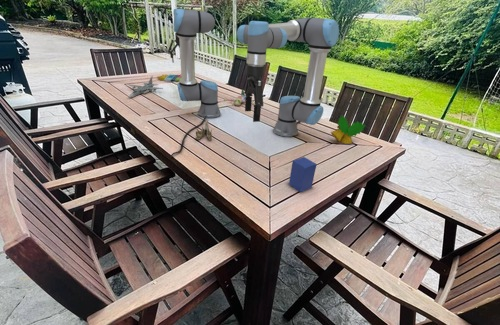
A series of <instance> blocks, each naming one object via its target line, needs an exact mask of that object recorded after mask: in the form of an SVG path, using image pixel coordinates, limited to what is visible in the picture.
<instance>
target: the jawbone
mask: <svg viewBox="0 0 500 325" xmlns="http://www.w3.org/2000/svg"><path fill="white" fill-rule="evenodd" d="M195 129H196V131H195V139H196V140H199V141H200V139H201V138H203V137H205V136H206V137H207V139H208V141H212V137H213V134H212V130H213V129H211V130H210V127H209V119H205V120H204V126H202V127H201V130H199V129H198V127H196V128H195Z"/></svg>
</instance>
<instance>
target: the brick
mask: <svg viewBox="0 0 500 325" xmlns="http://www.w3.org/2000/svg"><path fill="white" fill-rule="evenodd" d="M316 169H317V163H316V162H314V161H312V160H310V159H309V158H307V157H305V156H303V157H299V158H297V159H294V160H292V162H291V168H290V175H289V182H288V185H289V186H291V187H292V188H293V189H295V190H296V191H298V192H299V193H302V192H303V193H304V192H305V191H307V190H309V189H312V187H313V183H314V178H315V173H316Z"/></svg>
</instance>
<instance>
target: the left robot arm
mask: <svg viewBox="0 0 500 325" xmlns="http://www.w3.org/2000/svg"><path fill="white" fill-rule="evenodd" d="M215 26H216V20H215V17H214V16H213V15H212V14H211V13H209V12H207V11H204V10H194V9H185V8H184V9H183V8H173V32H174V37H175V39H170V44H169V47H168V49H167V53H168V54H170V59H171V60H172V64H174V63H175V60H174V53H173V52H175V50H176V49H177V47H179V57H180V58H179V59H180V76H181V79H180V80H179V81H178V82H177V83H176V85H177V90H178V91H177V92H178V95H179V99H180V101H181V102H200V106H199V109H198V116H199V117H201V118H203V119H202V122H201V123H200V124H198V125H196V126H193V127H192V128H191V129H189V130H188V131H186V133H185V134H184V135H183V138H182V141H181V145H180V149H179V150H178V151H174V152H172V153H171V154H170V156H169V159H172V157H173V156H174V155H176V154H179V153H181V152H182V151H183V147H184V142H185V139H186V137H187V136H188V135H189V133H191V132H192V131H193V130H195V129H196V128H198V127H200V126H201V125H203V123H205V120H206V119H214V118H219V117H221V110H220V108H219V102H218V99H219V98H218V97H219V88H218V84H217V83H216V82H215V81H213V80H205V79H202V80H200V81H199V82H198V80H197V79H196V66H195V63H196V62H195V53H196V52H195V39H197V35H198V34H205V33H209V32H211V31H212V30H213V29H214V28H215ZM174 43H175V45H174V46H173V44H174ZM172 47H173V48H172Z"/></svg>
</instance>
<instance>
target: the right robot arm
mask: <svg viewBox="0 0 500 325" xmlns="http://www.w3.org/2000/svg"><path fill="white" fill-rule="evenodd" d="M339 27H340V26H339V24H338V21H337V20H335V19H332V18H331V19H330V18H320V17H319V18H317V17H303V18H296V19H290V20H288V21H287V22H277V23H269V22H268V21H259V20H251V21H249V23H248V24H242V25H240V26H239V27H238V29H237V31H236V39H237V40H238V42H239V43H241V44H242V45H243V44H244V45H247V47H246V48H247V49H246V55H245V59H246V66H245V75H246V76H247V77H246V82H245V88H244V93H245V96H246V98H245V100H244V101H245V103H244V112H252V102H253V100H254V103H255V104H254V105H253V115H252V116H253V118H252V122H254V123H257V122H258V123H259V122H261V110H262V107H264V93H263V92H264V91H263V83H264V82H263V80H261V77H264V76H265V72H266V71H265V70H266V66H265V65H266V63H267V49H280V48H283V47H285V46H286V44H287V42H288V41H290V42H300V43H305V44H308V47H307V48H308V49H309V51H310V52H309V53H310V54H309V60H308V67H307V72H306V79H305V83H304V84H305V86H304V91H303V96H302V97H300V96H299V95H284V96H282V97H281V98H280V100H279V105H278V115H277V121H276V123H275V125H274V127H273V133H274V134H275V135H278V136H279V137H285V138H292V137H296V136H297V135H298V132H299V129H298V124H299V123H304V124H305V125H310V126H314V125H316V124H318V123H319V121H320V120H321V118H322V116H323V114H324V106H322V105H321V104H322V101H321V99H320V95H321V89H322V84H323V79H324V73H325V69H326V62H327V58H328V53H329V52H330V51H331V50H332V48H333V47H334V46H335V45H337V43H338V41H339V37H340V36H339V35H340V28H339Z"/></svg>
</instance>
